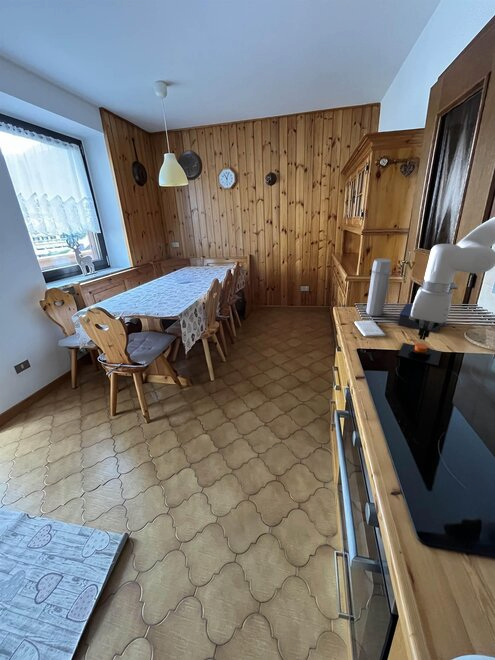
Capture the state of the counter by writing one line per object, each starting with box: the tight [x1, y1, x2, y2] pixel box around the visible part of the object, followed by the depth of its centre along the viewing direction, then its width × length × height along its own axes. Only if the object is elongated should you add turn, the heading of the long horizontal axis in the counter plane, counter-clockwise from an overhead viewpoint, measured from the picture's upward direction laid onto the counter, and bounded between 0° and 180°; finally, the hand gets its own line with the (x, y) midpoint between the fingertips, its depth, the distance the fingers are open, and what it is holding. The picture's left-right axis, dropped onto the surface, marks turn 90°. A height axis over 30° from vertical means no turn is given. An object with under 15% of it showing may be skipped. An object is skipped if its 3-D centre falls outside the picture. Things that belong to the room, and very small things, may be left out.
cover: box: [398, 303, 426, 321], centre depth 118 cm, size 14×15×1 cm
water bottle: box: [365, 258, 393, 317], centre depth 125 cm, size 9×8×25 cm
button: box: [414, 343, 429, 353], centre depth 97 cm, size 4×4×2 cm
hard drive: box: [354, 320, 386, 338], centre depth 117 cm, size 2×8×12 cm
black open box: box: [397, 316, 441, 334], centre depth 120 cm, size 14×15×4 cm
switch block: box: [397, 342, 442, 368], centre depth 98 cm, size 12×10×3 cm
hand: (422, 337), depth 95 cm, fingers closed
